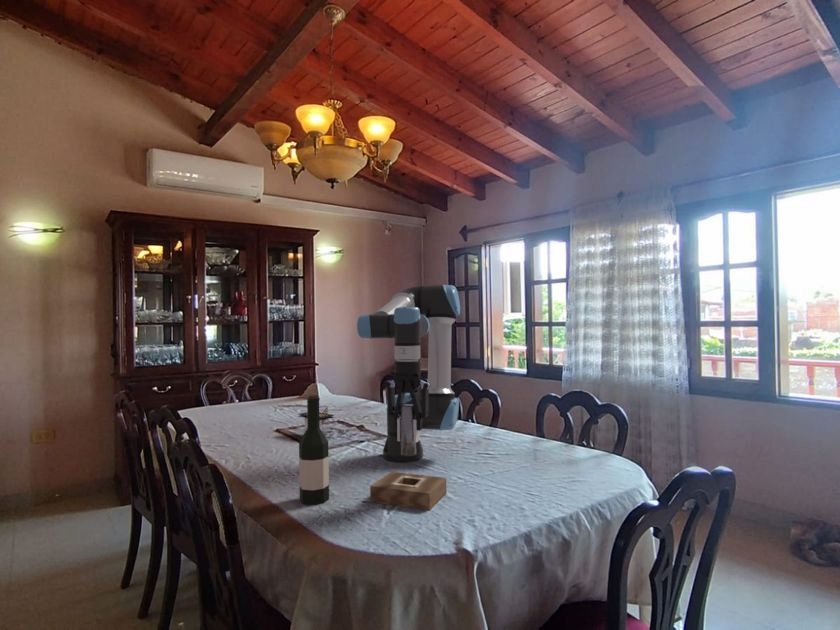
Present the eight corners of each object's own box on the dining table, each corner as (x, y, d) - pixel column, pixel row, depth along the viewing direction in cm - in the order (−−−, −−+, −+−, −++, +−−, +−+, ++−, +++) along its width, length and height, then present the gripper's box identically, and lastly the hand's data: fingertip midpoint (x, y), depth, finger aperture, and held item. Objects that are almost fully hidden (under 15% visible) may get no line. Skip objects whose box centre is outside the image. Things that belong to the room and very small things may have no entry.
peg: (398, 455, 146) (398, 406, 146) (404, 451, 150) (404, 403, 150) (412, 456, 145) (412, 407, 145) (418, 452, 149) (417, 404, 149)
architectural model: (367, 437, 223) (367, 405, 223) (316, 451, 202) (316, 415, 202) (316, 427, 246) (315, 397, 246) (265, 438, 224) (265, 406, 224)
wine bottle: (301, 495, 150) (300, 393, 150) (330, 494, 151) (329, 393, 151) (297, 505, 142) (296, 398, 142) (327, 504, 143) (326, 397, 143)
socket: (370, 501, 144) (370, 485, 144) (391, 486, 157) (391, 471, 157) (429, 510, 138) (429, 492, 138) (446, 493, 151) (446, 477, 151)
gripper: (374, 360, 147) (375, 441, 147) (431, 362, 141) (432, 446, 141) (385, 358, 154) (386, 435, 154) (440, 359, 148) (441, 440, 148)
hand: (408, 440), depth 148 cm, fingers closed on peg, 4 cm apart
